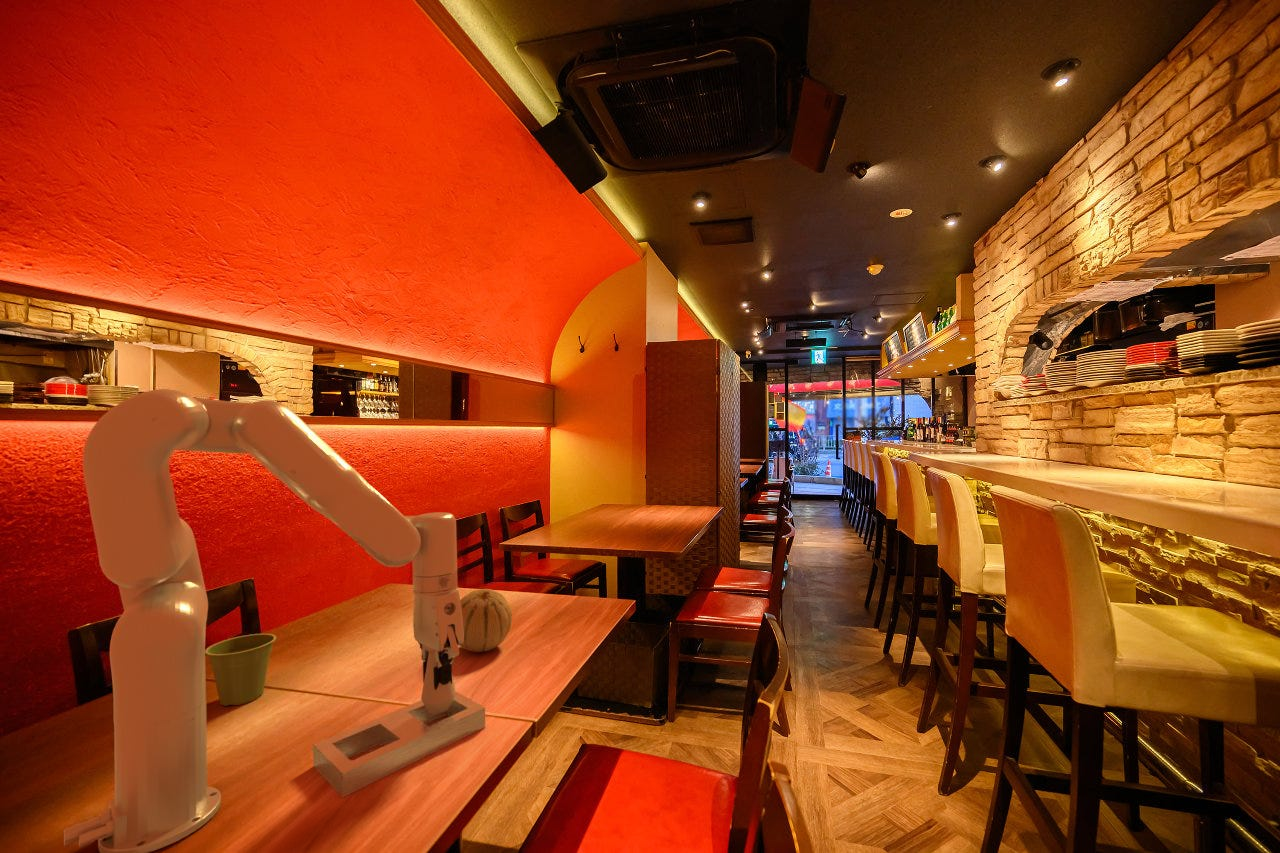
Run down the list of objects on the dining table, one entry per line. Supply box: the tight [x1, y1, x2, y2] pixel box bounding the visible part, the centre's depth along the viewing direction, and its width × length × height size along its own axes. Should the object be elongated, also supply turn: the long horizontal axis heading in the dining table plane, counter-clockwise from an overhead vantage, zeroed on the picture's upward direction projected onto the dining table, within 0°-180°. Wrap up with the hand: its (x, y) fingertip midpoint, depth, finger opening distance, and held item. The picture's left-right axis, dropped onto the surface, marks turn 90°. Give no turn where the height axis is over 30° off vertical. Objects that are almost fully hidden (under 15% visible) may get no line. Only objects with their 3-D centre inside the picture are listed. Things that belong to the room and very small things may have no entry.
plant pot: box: [205, 633, 277, 707], centre depth 110 cm, size 12×12×11 cm
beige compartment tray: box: [312, 691, 486, 798], centre depth 91 cm, size 24×12×4 cm, turn 139°
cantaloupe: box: [459, 588, 513, 653], centre depth 133 cm, size 15×15×15 cm
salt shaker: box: [420, 643, 457, 714], centre depth 96 cm, size 6×6×13 cm
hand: (437, 683), depth 96 cm, fingers closed on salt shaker, 3 cm apart
